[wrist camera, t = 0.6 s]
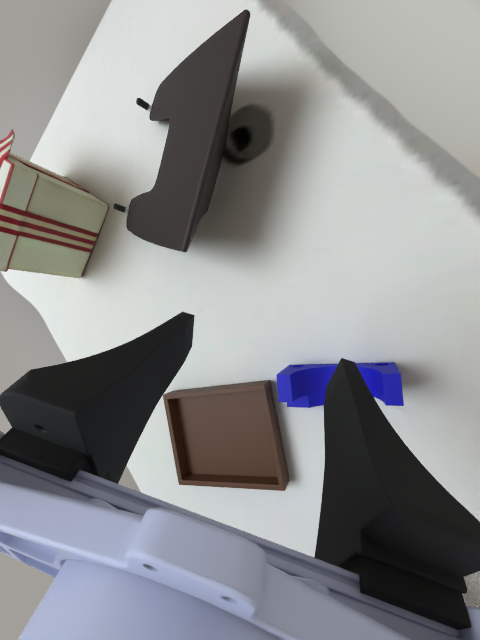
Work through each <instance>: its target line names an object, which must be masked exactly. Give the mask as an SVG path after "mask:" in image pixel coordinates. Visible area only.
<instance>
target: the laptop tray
mask: <svg viewBox="0 0 480 640" xmlns="http://www.w3.org/2000/svg"><path fill="white" fill-rule="evenodd" d="M249 19H250V12H249V11H248V10H244V11H243V12H242V13H240V14H239V15H238V16H236V17H235V18H234V19H233V20H231V21H230V22H229V23H227V24H226V25H225V26H224V27H222V28H221V29H220V30H219V31H217V32H216V33H215V34H214V35H212V36H211V37H210V38H209V39H208V40H206V41H205V42H204V43H203V44H202V45H201V46H199V47H198V48H197V49H196V50H195V51H194V52H192V53H191V54H190V55H189V56H188V57H187V58H186V59H185V60H184V61H182V62H181V63H180V64H179V65H178V66H177V67H176V68H175V69H174V70H173V71H172V72H171V73H170V74H169V75H168V76H167V77H166V79H165V80H164V81H163V82H162V83H161V84H160V86H159V87H158V90H157V92H156V94H155V97H154V101H153V104H152V106H151V105H149V104H148V103H146V102H145V101H143V100H142V99H140V98H137V101H136V103H137V104H138V105H139V106H141V107H142V108H144V109H146V110H148V111H149V112H150V120H152V121H159V120H164V119H167V118H169V119H170V125H169V130H168V135H167V139H166V143H165V148H164V152H163V156H162V160H161V164H160V168H159V172H158V176H157V180H156V183H155V185H154V187H153V189H152V190H151V191H149V192H146V193H143V194H141V195H139V196H137V197H135V198H133V199H132V200H131V202H130V205H129V209H128V208H126V207H124V206H121V205H119V204H116V203H115V204H114V209H115V210H118V211H121V212H124V213H127V214H128V215H127V229H128V230H129V231H130V232H132V233H133V234H134V235H136V236H138V237H139V238H141V239H143V240H146V241H148V242H151V243H154V244H157V245H159V246H163V247H166V248H170V249H174V250H178V251H183V252H187V250H188V247H189V245H190V242H191V239H192V237H193V234H194V232H195V230H196V227H197V225H198V223H199V221H200V219H201V217H202V216H203V215H204V214H205V213H206V212H207V210H208V207H209V203H210V200H211V197H212V193H213V190H214V186H215V182H216V178H217V175H218V171H219V168H220V164H221V161H222V157H223V153H224V149H225V144H226V139H227V133H228V126H229V120H230V114H231V108H232V103H233V97H234V92H235V87H236V81H237V76H238V71H239V66H240V62H241V57H242V52H243V47H244V42H245V38H246V33H247V28H248V23H249Z"/></svg>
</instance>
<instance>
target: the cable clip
mask: <svg viewBox="0 0 480 640" xmlns="http://www.w3.org/2000/svg"><path fill="white" fill-rule="evenodd" d="M355 364H356V365H357V367H358V369H359V371H360V373H361V375H362V377H363V379H364V381H365V383H366V385H367V387H368V388H369V390H370V392H371V394H372V396H373V397H376V398H378V399H380V400H382V401H383V402H384V403H385V405H393V406H404V404H403V394H402V383H401V374H400V372H399V370H398V368H397V367H396V365H395V363H394V362H391V363H355ZM337 366H338V364H307V365H289V366H288V367H286V368H285V369H284V370H282V371H281V372H280V373H278V374H277V385H278V395H279V402H287V407H308V408H310V407H314V406H320V405H324V401H325V392H326V386H327V385H328V383H329V381H330V379H331V377H332V375H333V373H334V371H335V369H336V368H337Z"/></svg>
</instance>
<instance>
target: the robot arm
mask: <svg viewBox="0 0 480 640" xmlns="http://www.w3.org/2000/svg"><path fill="white" fill-rule="evenodd" d="M193 326H194V315H192V314H188V313H185V312H182V313H180V314H178V315H177V316H175V317H173V318H172V319H170V320H168V321H167V322H165V323H163V324H162V325H160V326H158V327H156V328H155V329H153V330H151V331H149V332H148V333H146V334H144V335H142V336H140V337H138V338H136V339H134V340H132V341H130V342H128V343H125V344H123V345H121V346H118V347H116V348H113V349H111V350H108V351H105V352H102V353H99V354H96V355H93V356H90V357H87V358H83V359H79V360H76V361H72V362H67V363H63V364H59V365H54V366H48V367H43V368H38V369H33V370H30V371H29V372H27V373H26V374H25V375H24V376H22V377H21V378H20V379H19V380H17V381H16V382H15V383H14V384H13V385H11V386H10V387H9V388H8V389H7V390H5V391H4V392H3V393H2V394H1V395H0V406H1V409H2V410H3V412H4V414H5V415H6V417H7V419H8V421H9V422H10V424H11V426H12V428H11V429H10V430H9V431H8V432H7V433H6V434H4V433H3V432H1V431H0V552H2V553H4V554H6V555H8V556H10V557H13V558H14V559H17V560H19V561H21V562H23V563H25V564H27V565H29V566H31V567H33V568H35V569H37V570H40V571H42V572H44V573H46V574H48V575H50V576H52V577H54V578H55V579H54V580H53V582H52V584H51V585H50V587H49V589H48V591H47V592H46V594H45V595H44V597H43V599H42V600H41V602H40V604H39V605H38V607H37V609H36V610H35V612H34V614H33V615H32V617H31V619H30V620H29V622H28V623H27V625H26V627H25V628H24V630H23V632H22V634H21V635H20V637H19V638H18V640H480V608H477V607H471V606H465V602H464V599H463V595H462V593H467V587H466V584H465V581H464V576H467V575H470V574H472V573H475V572H478V571H480V522H479V521H478V520H477V519H476V518H475V517H474V516H473V515H472V514H471V513H470V512H469V511H468V510H467V509H466V508H465V507H463V506H462V505H461V504H460V503H459V502H458V501H457V500H456V499H455V498H454V497H453V496H452V495H451V494H450V493H449V492H448V491H447V490H446V489H445V488H444V487H443V486H442V485H441V484H440V483H439V482H438V481H437V480H436V479H435V478H434V477H433V476H432V475H431V474H430V473H429V472H428V471H427V469H426V468H425V467H424V466H423V465H422V464H421V463H420V461H419V460H418V459H417V458H416V457H415V456H414V454H413V453H412V452H411V451H410V450H409V448H408V447H407V446H406V445H405V444H404V442H403V441H402V440H401V438H400V437H399V436H398V434H397V433H396V432H395V430H394V429H393V427H392V426H391V425H390V423H389V422H388V420H387V419H386V417H385V415H384V414H383V412H382V411H381V409H380V408H379V406H378V404H377V403H376V401H375V399H374V397H373V396H372V394H371V392H370V390H369V388H368V387H367V385H366V383H365V381H364V379H363V377H362V375H361V373H360V371H359V369H358V367H357V365H356V364H355V362H352V361H349V360H346V359H342V358H341V360H340V362H339V364H338V366H337V368H336V369H335V371H334V373H333V375H332V377H331V379H330V381H329V383H328V385H327V386H326V392H325V401H324V430H325V469H324V482H323V493H322V503H321V512H320V521H319V529H318V537H317V544H316V551H315V558H313V557H311V556H308V555H305V554H303V553H300V552H297V551H295V550H292V549H289V548H287V547H284V546H281V545H279V544H276V543H273V542H271V541H268V540H265V539H263V538H260V537H257V536H255V535H252V534H249V533H247V532H244V531H241V530H239V529H236V528H233V527H231V526H228V525H225V524H223V523H220V522H217V521H215V520H212V519H209V518H207V517H204V516H201V515H199V514H196V513H194V512H191V511H188V510H186V509H183V508H180V507H178V506H175V505H172V504H170V503H167V502H164V501H162V500H159V499H156V498H154V497H151V496H148V495H146V494H143V493H140V492H138V491H135V490H132V489H130V488H127V487H124V486H122V485H119V484H118V482H119V480H120V478H121V476H122V474H123V471H124V469H125V467H126V465H127V463H128V460H129V458H130V456H131V454H132V452H133V450H134V448H135V446H136V444H137V442H138V439H139V437H140V436H141V434H142V432H143V430H144V428H145V426H146V424H147V422H148V420H149V418H150V416H151V414H152V412H153V410H154V408H155V406H156V405H157V403H158V401H159V400H160V398H161V397H162V395H163V394H164V392H165V391H166V389H167V388H168V386H169V385H170V383H171V382H172V380H173V379H174V377H175V376H176V374H177V373H178V371H179V370H180V368H181V366H182V365H183V363H184V361H185V360H186V358H187V356H188V353H189V351H190V349H191V347H192V339H193Z"/></svg>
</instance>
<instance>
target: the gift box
mask: <svg viewBox="0 0 480 640" xmlns="http://www.w3.org/2000/svg"><path fill="white" fill-rule="evenodd" d="M14 136H15V135H14V132H13V130H11V132H10V134H9V135H8V137H6V138H5V139H3V140H1V141H0V271H5V272H6V271H7V270H8V269H13V270H21V271H28V272H36V273H44V274H51V275H59V276H66V277H74V278H80V277H81V275H82V273H83V270H84V268H85V265H86V263H87V260H88V258H89V255H90V253H91V251H92V248H93V246H94V243H95V241H96V239H97V236H98V233H99V231H100V228H101V226H102V223H103V220H104V218H105V215H106V213H107V211H108V207H109V206H108V205H107V204H105V203H104V202H102V201H101V200H99V199H98V198H96V197H94V196H93V195H91V194H90V192H88V191H86V190H84V189H82V188H81V187H80V186H78V185H77V184H75V183H73V182H71V181H70V180H68V179H66V178H65V177H62V176H60V175H58V174H56V173H54V172H51V171H49V170H47V169H45V168H43V167H40V166H38V165H36V164H34V163H32V162H30V161H27V160H25V159H23V158H21V157H19V156H17V155H14V154H12V153H10V149H11V145H12V143H13V140H14Z"/></svg>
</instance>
